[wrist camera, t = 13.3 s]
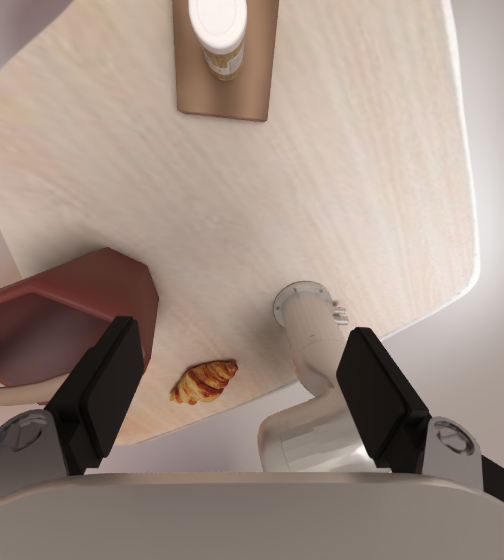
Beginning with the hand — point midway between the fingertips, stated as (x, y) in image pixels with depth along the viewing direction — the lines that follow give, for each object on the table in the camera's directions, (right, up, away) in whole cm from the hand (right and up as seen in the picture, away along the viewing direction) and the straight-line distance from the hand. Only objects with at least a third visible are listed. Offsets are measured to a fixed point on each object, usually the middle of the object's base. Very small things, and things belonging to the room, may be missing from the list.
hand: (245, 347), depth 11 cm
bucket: (-27, +2, +39) cm, 48 cm away
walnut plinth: (-3, +32, +23) cm, 40 cm away
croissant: (-12, -21, +53) cm, 58 cm away
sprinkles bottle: (-3, +30, +20) cm, 36 cm away
